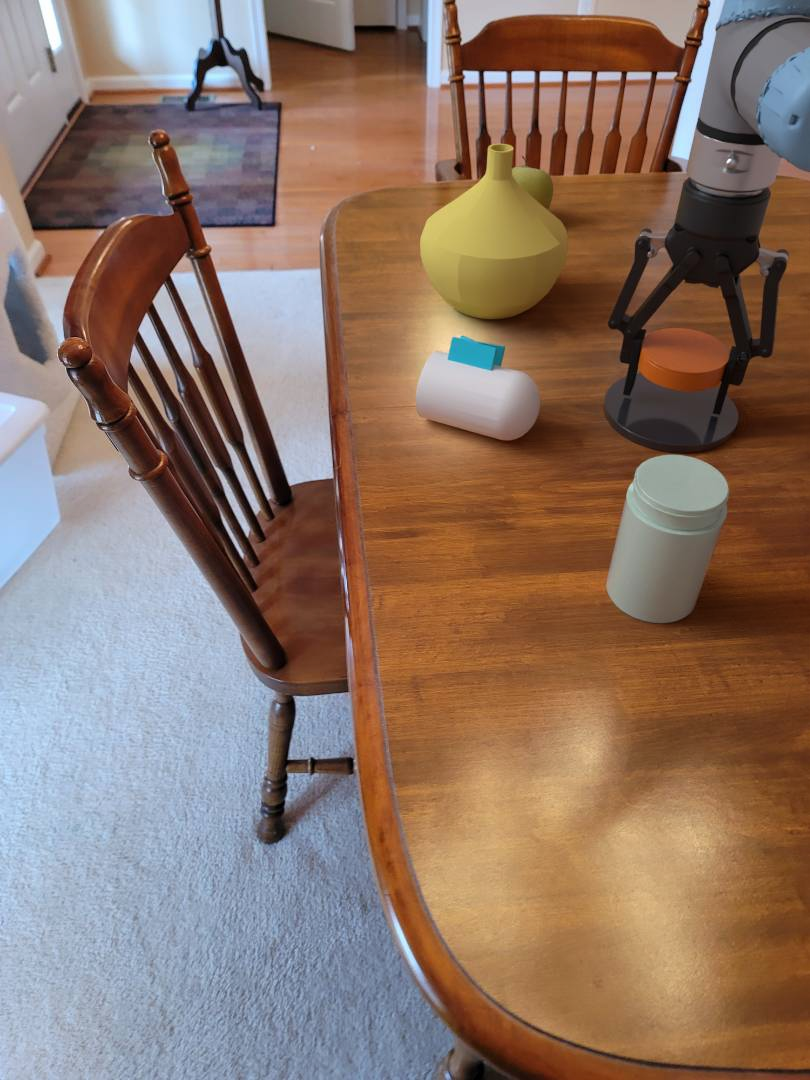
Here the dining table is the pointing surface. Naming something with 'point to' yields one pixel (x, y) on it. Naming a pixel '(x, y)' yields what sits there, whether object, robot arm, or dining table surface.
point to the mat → (669, 416)
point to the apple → (535, 183)
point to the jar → (666, 537)
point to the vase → (494, 245)
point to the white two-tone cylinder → (477, 391)
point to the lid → (683, 359)
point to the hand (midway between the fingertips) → (672, 397)
